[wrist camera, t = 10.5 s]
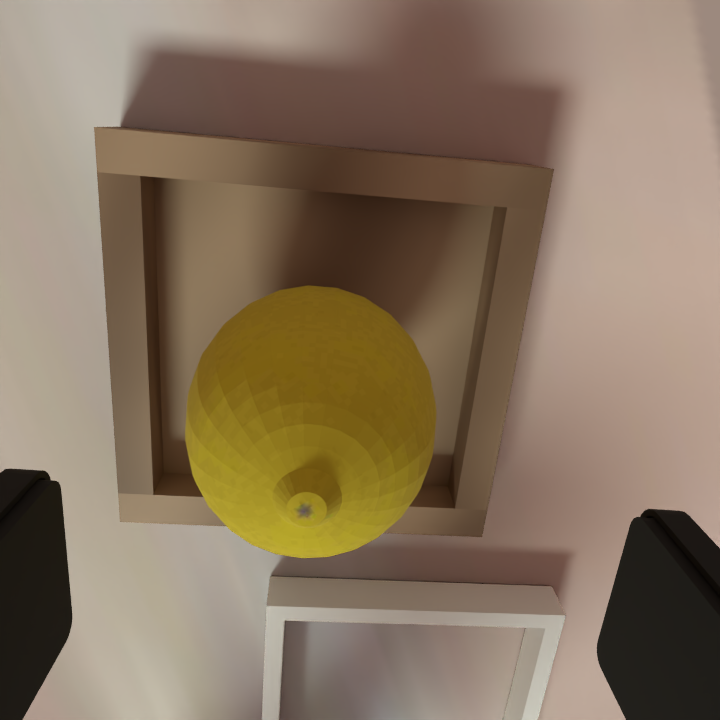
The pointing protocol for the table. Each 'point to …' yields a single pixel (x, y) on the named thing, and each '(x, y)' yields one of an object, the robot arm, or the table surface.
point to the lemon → (310, 422)
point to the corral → (420, 622)
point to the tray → (314, 268)
